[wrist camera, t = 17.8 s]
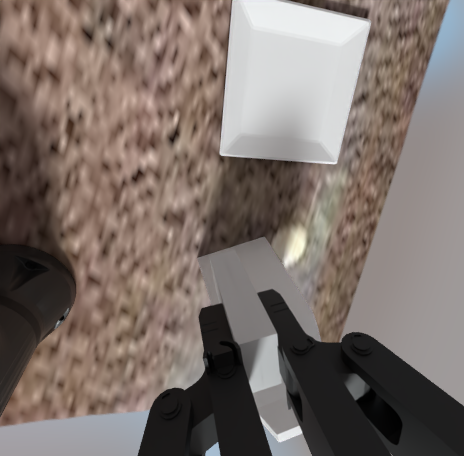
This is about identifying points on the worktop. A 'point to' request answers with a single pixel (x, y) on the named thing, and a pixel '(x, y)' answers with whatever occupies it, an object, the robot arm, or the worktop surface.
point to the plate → (289, 80)
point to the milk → (276, 277)
